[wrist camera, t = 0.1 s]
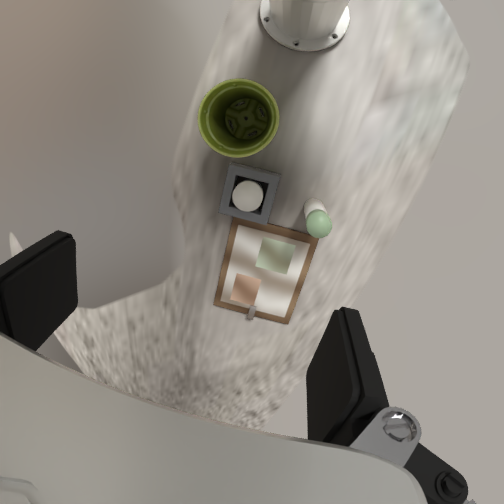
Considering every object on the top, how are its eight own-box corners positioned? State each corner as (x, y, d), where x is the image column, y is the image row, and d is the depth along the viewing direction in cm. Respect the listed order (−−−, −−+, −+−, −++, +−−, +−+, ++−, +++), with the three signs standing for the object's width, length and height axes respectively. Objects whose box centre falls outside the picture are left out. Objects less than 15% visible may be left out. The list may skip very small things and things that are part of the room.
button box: (232, 162, 44) (229, 164, 42) (280, 174, 44) (280, 177, 42) (222, 207, 47) (218, 212, 44) (267, 219, 47) (266, 225, 44)
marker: (306, 195, 45) (310, 210, 37) (327, 201, 45) (335, 217, 37) (300, 215, 46) (303, 234, 38) (320, 221, 46) (327, 240, 38)
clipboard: (234, 214, 47) (232, 216, 46) (318, 237, 47) (319, 240, 46) (213, 304, 54) (212, 308, 52) (287, 324, 54) (287, 328, 52)
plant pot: (291, 136, 42) (292, 138, 34) (230, 162, 44) (217, 170, 36) (264, 77, 39) (258, 65, 31) (203, 104, 41) (184, 100, 33)
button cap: (238, 176, 43) (236, 179, 41) (266, 183, 43) (265, 186, 41) (232, 203, 45) (229, 207, 43) (259, 210, 45) (258, 214, 43)
